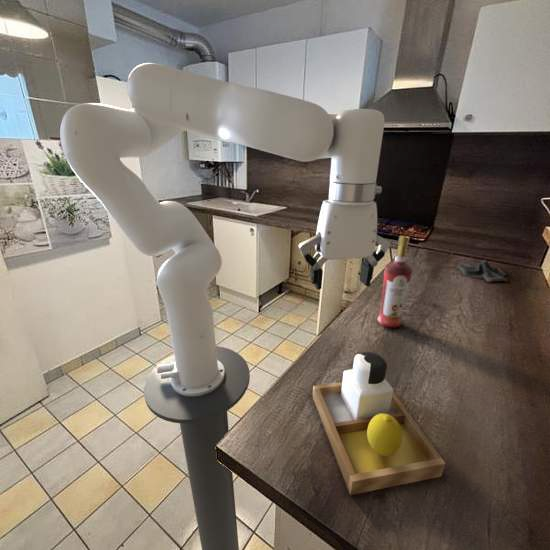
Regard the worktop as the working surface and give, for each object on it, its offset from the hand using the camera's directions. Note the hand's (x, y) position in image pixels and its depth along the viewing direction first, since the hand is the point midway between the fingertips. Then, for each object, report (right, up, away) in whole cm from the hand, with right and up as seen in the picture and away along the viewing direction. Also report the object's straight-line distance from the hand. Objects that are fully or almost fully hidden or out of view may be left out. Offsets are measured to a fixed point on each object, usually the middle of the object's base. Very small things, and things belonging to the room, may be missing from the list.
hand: (340, 285), depth 56 cm
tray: (+5, -28, 0) cm, 29 cm away
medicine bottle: (+6, -25, +4) cm, 26 cm away
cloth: (+80, +3, +73) cm, 109 cm away
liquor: (+23, -14, +35) cm, 44 cm away
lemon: (+6, -29, -5) cm, 30 cm away
